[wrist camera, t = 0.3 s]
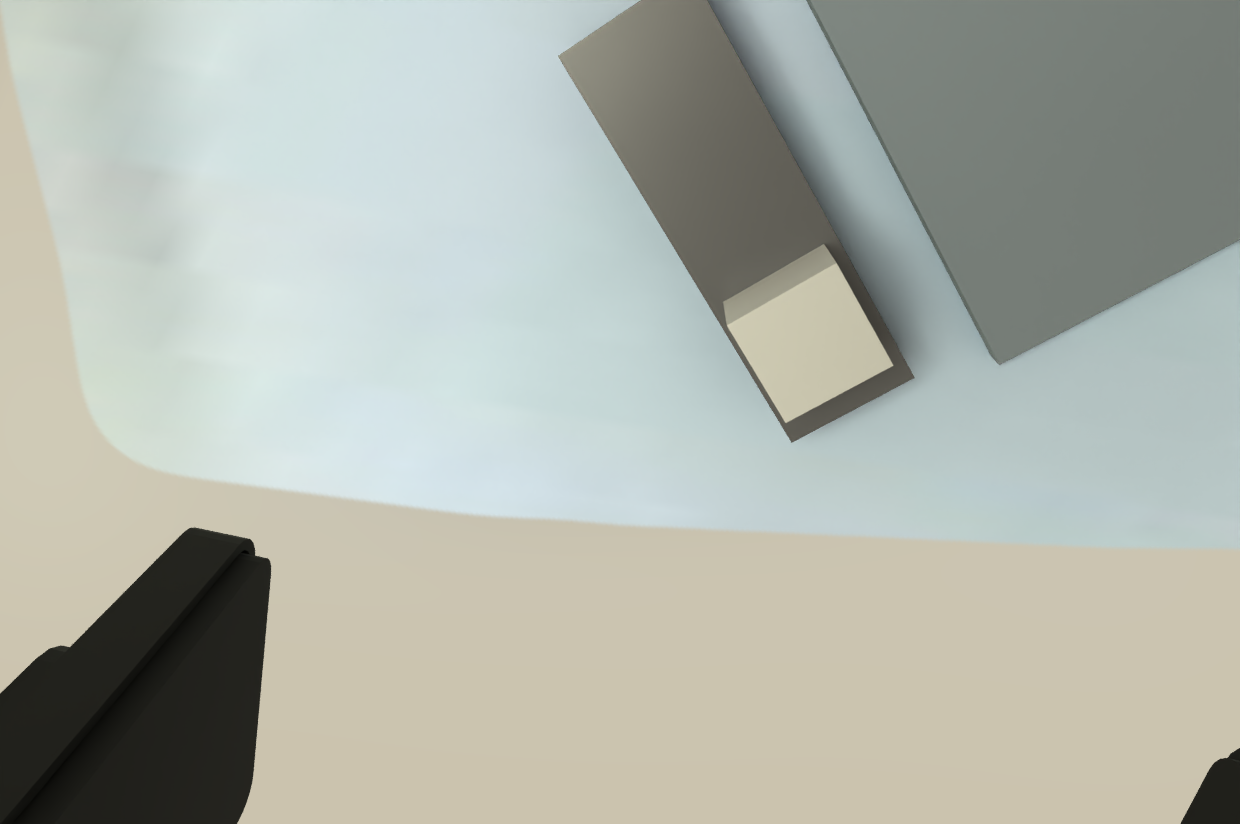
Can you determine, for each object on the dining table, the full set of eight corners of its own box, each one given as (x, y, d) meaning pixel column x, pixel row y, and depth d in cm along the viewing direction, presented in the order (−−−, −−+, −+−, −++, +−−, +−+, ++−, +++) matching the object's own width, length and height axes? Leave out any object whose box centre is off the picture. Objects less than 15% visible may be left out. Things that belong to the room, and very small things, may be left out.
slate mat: (1202, -373, 30) (1219, -386, 29) (1389, 148, 35) (1408, 152, 34) (765, -79, 34) (767, -82, 33) (991, 356, 39) (999, 364, 38)
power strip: (688, -28, 34) (690, -39, 29) (897, 352, 39) (934, 407, 33) (567, 53, 36) (546, 58, 30) (784, 413, 40) (800, 476, 34)
